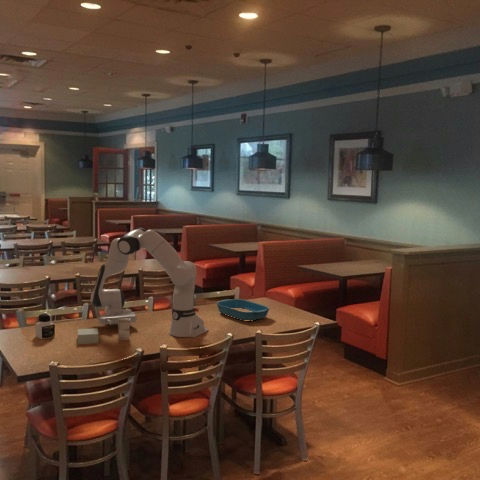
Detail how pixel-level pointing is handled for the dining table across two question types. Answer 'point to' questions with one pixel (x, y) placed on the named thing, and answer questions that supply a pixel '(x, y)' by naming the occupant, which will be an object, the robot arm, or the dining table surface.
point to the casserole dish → (257, 309)
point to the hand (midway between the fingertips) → (120, 322)
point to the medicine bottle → (45, 327)
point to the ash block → (124, 329)
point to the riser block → (87, 336)
